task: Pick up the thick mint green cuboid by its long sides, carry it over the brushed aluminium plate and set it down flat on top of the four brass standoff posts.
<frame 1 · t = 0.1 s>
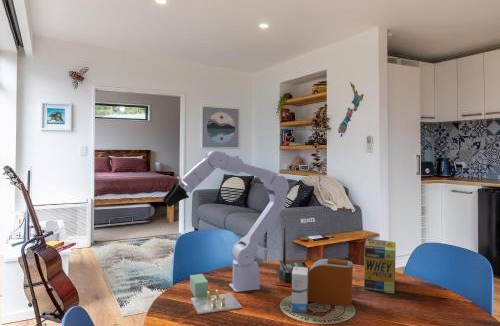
hand: (165, 203, 125), 32 cm above the table, tool tilted 50°, fingers open, 7 cm apart
protein box: (380, 285, 139), on the table
brown toaster: (328, 300, 125), on the table
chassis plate: (215, 303, 120), on the table
mint green cuboid: (198, 292, 131), on the table
ink box: (299, 307, 119), on the table
wireless controller: (293, 274, 151), on the table
standoff posts: (215, 298, 120), on the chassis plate, point 1 cm above the table
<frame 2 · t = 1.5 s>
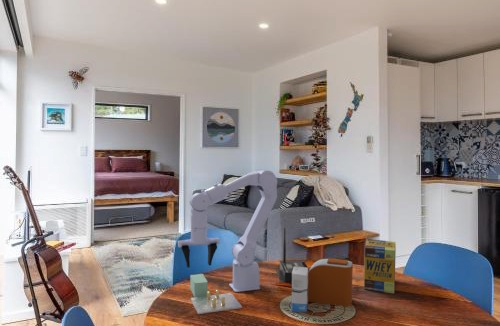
hand: (198, 265, 130), 9 cm above the table, tool pointing down, fingers open, 7 cm apart
nothing on the table moved.
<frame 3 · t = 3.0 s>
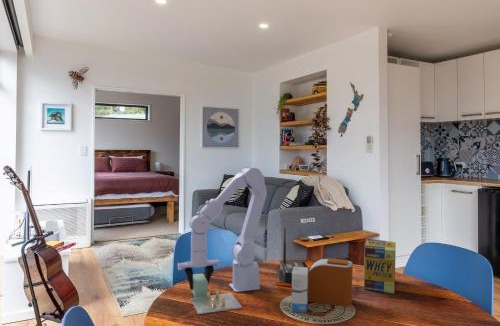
hand: (198, 287, 131), 1 cm above the table, tool pointing down, fingers closed on mint green cuboid, 5 cm apart
mint green cuboid: (198, 291, 131), on the table, touching gripper
everything else where it was.
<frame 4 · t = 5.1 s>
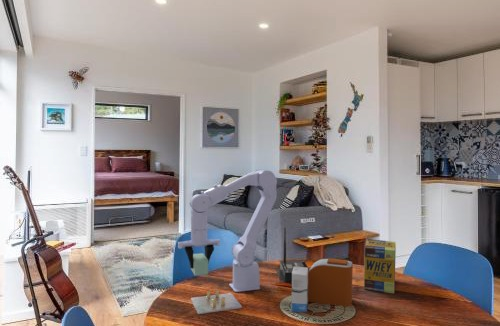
hand: (199, 267, 130), 9 cm above the table, tool pointing down, fingers closed on mint green cuboid, 5 cm apart
mint green cuboid: (198, 271, 130), point 7 cm above the table, touching gripper
everything else where it was.
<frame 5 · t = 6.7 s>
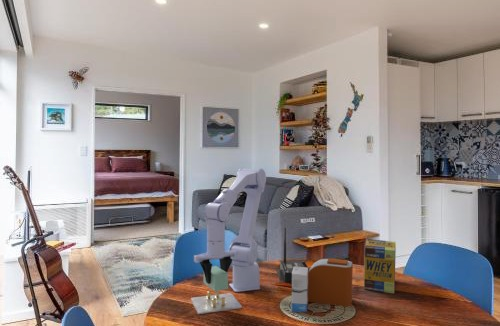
hand: (215, 281, 120), 7 cm above the table, tool pointing down, fingers closed on mint green cuboid, 5 cm apart
mint green cuboid: (215, 285, 120), point 6 cm above the table, touching gripper
everything else where it was.
when the fingers open (5 cm above the table, at t = 7.7 s): mint green cuboid stays where it is, resting on standoff posts.
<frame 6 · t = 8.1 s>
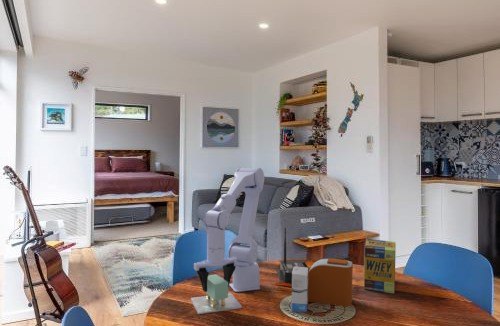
hand: (215, 288, 120), 5 cm above the table, tool pointing down, fingers open, 7 cm apart
mint green cuboid: (215, 294, 120), point 3 cm above the table, touching standoff posts
everything else where it was.
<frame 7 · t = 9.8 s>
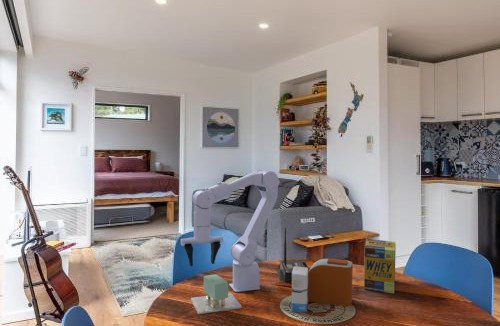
hand: (201, 264, 128), 10 cm above the table, tool pointing down, fingers open, 7 cm apart
nothing on the table moved.
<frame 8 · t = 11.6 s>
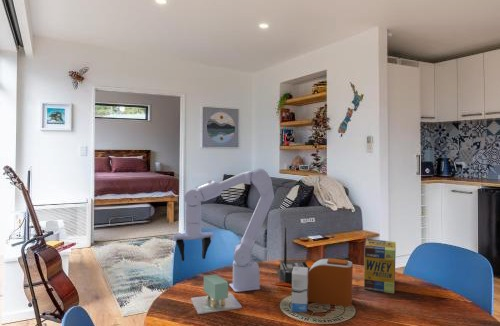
hand: (193, 259, 135), 10 cm above the table, tool pointing down, fingers open, 7 cm apart
nothing on the table moved.
at the end: mint green cuboid 0.2 cm off-centre on the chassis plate, point 3.0 cm above the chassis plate's base; mint green cuboid tilted 0°; the gripper is holding nothing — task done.
